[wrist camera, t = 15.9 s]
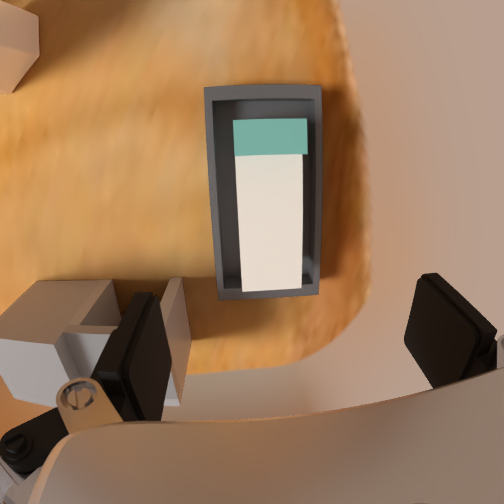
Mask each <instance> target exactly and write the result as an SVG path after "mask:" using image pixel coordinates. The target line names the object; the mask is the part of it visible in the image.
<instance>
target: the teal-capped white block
mask: <svg viewBox="0 0 504 504" xmlns="http://www.w3.org/2000/svg"><path fill="white" fill-rule="evenodd" d="M233 132H234V153H235V166H236V186H237V206H238V224H239V243H240V260H241V278H242V292H246V291H264V290H281V289H296V288H301V284H302V239H303V161H302V154H308V148H307V119H248V120H233Z"/></svg>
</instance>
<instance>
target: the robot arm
mask: <svg viewBox="0 0 504 504" xmlns="http://www.w3.org/2000/svg"><path fill="white" fill-rule="evenodd" d="M496 333H497V329H496V328H495V327H494V326H493V325H492V324H491V323H490V322H489V321H488V320H487V319H486V318H485V317H484V316H483V315H481V313H480V312H479V311H478V310H477V309H475V308H474V307H473V306H472V305H471V304H470V303H469V302H468V301H467V300H466V299H465V298H464V297H463V296H462V295H461V294H460V293H459V292H458V291H457V290H455V289H454V288H453V287H452V286H451V285H450V284H449V283H447V281H445V280H444V279H443V278H442V277H441V276H440V275H439V274H438V273H429V274H423V275H422V276H421V278H419V279H418V281H417V284H416V290H415V294H414V299H413V303H412V307H411V311H410V315H409V320H408V324H407V327H406V331H405V335H404V343H405V345H406V347H407V348H408V350H409V351H410V353H411V354H412V356H413V357H414V359H415V361H416V362H417V364H418V365H419V367H420V368H421V370H422V372H423V373H424V375H425V376H426V378H427V379H428V381H429V383H430V384H431V386H432V387H433V389H430V390H427V391H423V392H419V393H415V394H411V395H407V396H403V397H398V398H394V399H390V400H385V401H380V402H375V403H371V404H365V405H360V406H355V407H349V408H343V409H337V410H330V411H323V412H317V413H308V414H300V415H292V416H282V417H271V418H259V419H242V420H217V421H161V417H162V412H163V407H164V402H165V396H166V391H167V386H168V381H169V377H170V372H171V367H172V357H171V352H170V348H169V344H168V339H167V335H166V330H165V326H164V321H163V316H162V312H161V307H160V302H159V298H158V296H153V293H152V292H135V294H134V296H133V298H132V299H131V301H130V303H129V305H128V307H127V309H126V311H125V313H124V315H123V317H122V319H121V321H120V324H119V326H118V328H117V329H114V330H113V331H112V332H111V334H110V336H109V338H108V340H107V342H106V344H105V347H104V349H103V351H102V353H101V355H100V357H99V359H98V361H97V363H96V366H95V368H94V370H93V372H92V374H91V376H90V378H85V377H84V378H76V379H73V380H70V381H68V382H67V383H65V384H64V385H63V386H62V387H61V388H60V389H59V391H58V392H57V395H56V405H57V407H56V408H54V409H52V410H50V411H48V412H46V413H44V414H42V415H40V416H38V417H36V418H33V419H31V420H29V421H27V422H25V423H23V424H21V425H19V426H17V427H15V428H13V429H11V430H9V431H8V432H7V433H5V434H4V436H3V437H2V438H1V441H0V504H504V335H502V336H501V337H499V338H498V340H497V341H496V340H495V339H494V338H495V335H496Z"/></svg>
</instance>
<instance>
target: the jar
mask: <svg viewBox="0 0 504 504" xmlns="http://www.w3.org/2000/svg"><path fill="white" fill-rule="evenodd" d="M39 56H40V50H39V17H38V16H37V15H35V14H33V13H31V12H28V11H26V10H24V9H21V8H19V7H17V6H14V5H12V4H9V3H7V2H4V1H2V0H0V94H11V93H12V92H13V90H14V89H15V87H16V86H17V84H18V83H19V82H20V80H21V79H22V78H23V76H24V75H25V74H26V72H27V71H28V70H29V69H30V67H31V66H32V65H33V64H34V62H35V61H36V60H37V59H38V57H39Z"/></svg>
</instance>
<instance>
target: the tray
mask: <svg viewBox="0 0 504 504" xmlns="http://www.w3.org/2000/svg"><path fill="white" fill-rule="evenodd" d="M204 100H205V123H206V142H207V160H208V176H209V192H210V206H211V220H212V233H213V245H214V257H215V268H216V279H217V290H218V300H240V299H259V298H277V297H293V296H307V295H318V294H319V278H320V259H321V234H322V195H323V132H322V94H321V86H320V85H289V84H264V85H233V86H216V87H204ZM248 119H307V148H308V154H302V161H303V239H302V284H301V288H296V289H281V290H264V291H246V292H242V278H241V260H240V243H239V224H238V206H237V186H236V166H235V153H234V132H233V120H248Z"/></svg>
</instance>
